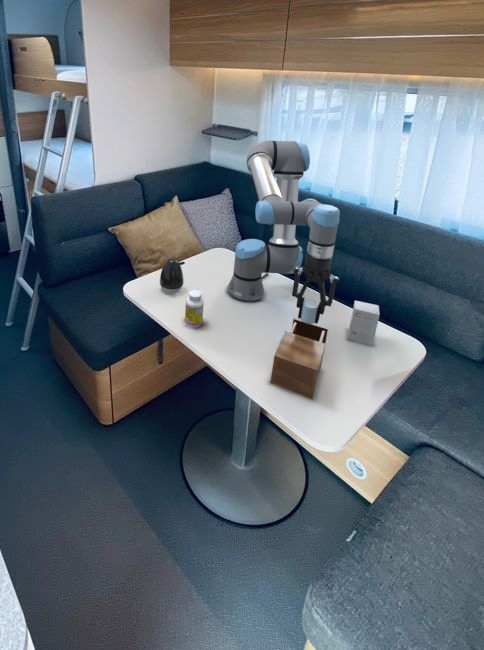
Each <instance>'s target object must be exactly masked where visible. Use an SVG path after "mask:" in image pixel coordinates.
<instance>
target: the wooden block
mask: <svg viewBox="0 0 484 650" xmlns="http://www.w3.org/2000/svg"><path fill="white" fill-rule="evenodd" d="M325 348H326V343H325V344H324V343H321V342H318V341H315V340H312V339H309V338H305V337H302V336H299V335H296V334H293V333H290V331H286V330H285V331H284V333H283V335H282V337H281V339H280V342H279V343H278V346H277V349H276V351H275V353H274V356H273V361H272V362H273V363H272V368H271V374H270V375H271V376H270V382H269V384H271V385H274V386H277V387H280V388H281V389H285V390H287V391H289V392H293V393H295V394H298V395H301V396H303V397H306V398H308V399H311V400H313V398H314V395H315V392H316V388H317V384H318V381H319V378H320V373H321V371H322V364H323V358H324V354H325V350H326V349H325Z"/></svg>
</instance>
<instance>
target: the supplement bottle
mask: <svg viewBox="0 0 484 650" xmlns="http://www.w3.org/2000/svg"><path fill="white" fill-rule="evenodd" d="M204 304H205V302H204V299H203V297H202V292H201V291H200V290H197V289H193V290H190V291H189V292H188V297H187V298H186V299H185V308H184V310H185V311H184V323H185V325H186V326H188V327H190V328H198V327H200V326H201V325H202V324H203V318H204Z"/></svg>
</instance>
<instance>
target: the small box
mask: <svg viewBox="0 0 484 650" xmlns="http://www.w3.org/2000/svg"><path fill="white" fill-rule="evenodd" d="M379 319H380V306H379V305H378V304H373V303H368V302H364V301H359V300H354V302H353V307H352V312H351V317H350V322H349V327H348V340H349V341H354V342H357V343H361V344H366V345H369V346H373V344H374V340H375V337H376V333H377V328H378V323H379Z"/></svg>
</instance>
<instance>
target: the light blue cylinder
mask: <svg viewBox="0 0 484 650" xmlns="http://www.w3.org/2000/svg"><path fill="white" fill-rule="evenodd" d="M318 305H319V302H317V301H314V300H312V299H304V302H303V306H302V313H301V318H300V319H301V320H302V321H303V322H304V323H307V324H314V323H315V321H316V315H317V310H318ZM315 324H316V323H315Z"/></svg>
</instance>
